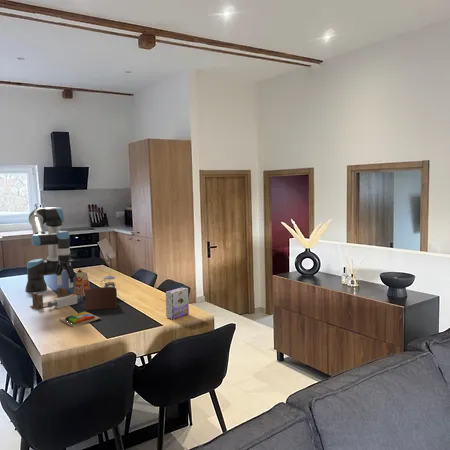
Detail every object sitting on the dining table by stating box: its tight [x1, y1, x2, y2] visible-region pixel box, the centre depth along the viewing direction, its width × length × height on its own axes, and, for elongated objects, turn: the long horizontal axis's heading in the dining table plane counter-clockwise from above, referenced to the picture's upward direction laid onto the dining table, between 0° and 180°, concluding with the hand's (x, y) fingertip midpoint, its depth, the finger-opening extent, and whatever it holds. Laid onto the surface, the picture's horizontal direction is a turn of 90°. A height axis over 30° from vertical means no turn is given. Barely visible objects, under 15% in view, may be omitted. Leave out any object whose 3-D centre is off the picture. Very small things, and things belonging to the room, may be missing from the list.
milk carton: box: [73, 268, 91, 297], centre depth 313 cm, size 9×9×20 cm
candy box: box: [165, 287, 190, 320], centre depth 258 cm, size 14×6×16 cm, turn 141°
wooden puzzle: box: [58, 310, 102, 327], centre depth 253 cm, size 18×19×4 cm
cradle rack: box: [29, 286, 69, 310], centre depth 288 cm, size 10×24×9 cm, turn 142°
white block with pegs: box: [47, 293, 84, 309], centre depth 285 cm, size 5×24×6 cm, turn 142°
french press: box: [99, 261, 116, 288], centre depth 306 cm, size 10×12×25 cm
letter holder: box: [84, 286, 118, 311], centre depth 280 cm, size 10×20×14 cm, turn 106°
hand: (65, 286), depth 284 cm, fingers open, 13 cm apart
